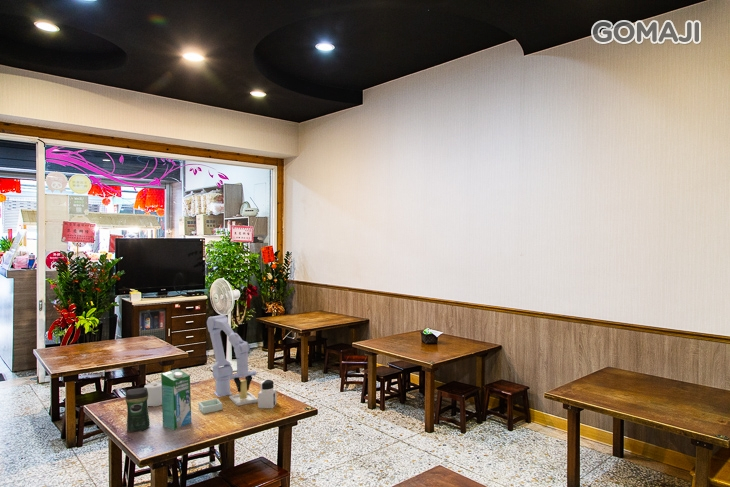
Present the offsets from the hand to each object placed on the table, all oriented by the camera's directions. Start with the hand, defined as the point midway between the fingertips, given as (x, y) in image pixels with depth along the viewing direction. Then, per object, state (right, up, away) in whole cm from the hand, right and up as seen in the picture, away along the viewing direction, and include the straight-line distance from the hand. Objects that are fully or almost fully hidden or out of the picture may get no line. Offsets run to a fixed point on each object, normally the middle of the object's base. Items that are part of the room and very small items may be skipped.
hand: (243, 390), depth 252 cm
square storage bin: (-14, -6, -12) cm, 19 cm away
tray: (0, -5, 0) cm, 5 cm away
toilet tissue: (-47, -7, 0) cm, 48 cm away
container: (+15, -5, -8) cm, 18 cm away
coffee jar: (-40, -7, -34) cm, 53 cm away
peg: (0, -4, 0) cm, 4 cm away
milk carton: (-23, -7, -31) cm, 39 cm away
